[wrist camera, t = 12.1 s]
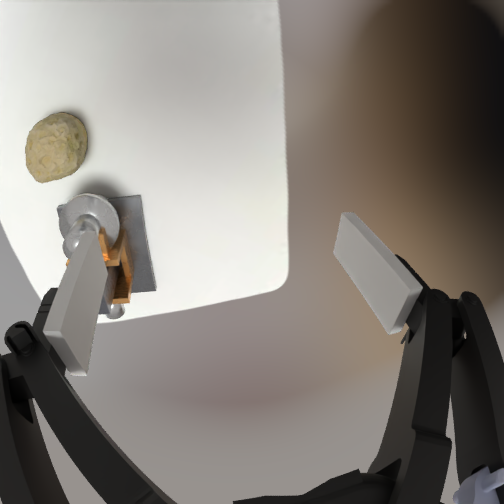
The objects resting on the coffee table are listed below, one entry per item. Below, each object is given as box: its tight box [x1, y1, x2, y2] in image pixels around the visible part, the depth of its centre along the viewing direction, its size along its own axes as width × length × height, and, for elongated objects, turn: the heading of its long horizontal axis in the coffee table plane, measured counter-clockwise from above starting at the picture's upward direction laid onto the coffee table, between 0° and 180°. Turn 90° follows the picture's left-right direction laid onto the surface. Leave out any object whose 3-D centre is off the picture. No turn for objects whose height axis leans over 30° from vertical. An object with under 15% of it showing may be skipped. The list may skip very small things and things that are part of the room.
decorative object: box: [25, 112, 87, 183], centre depth 32 cm, size 9×10×10 cm
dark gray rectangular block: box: [99, 259, 121, 314], centre depth 40 cm, size 4×4×12 cm
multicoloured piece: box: [57, 193, 156, 319], centre depth 40 cm, size 22×14×12 cm, turn 178°
